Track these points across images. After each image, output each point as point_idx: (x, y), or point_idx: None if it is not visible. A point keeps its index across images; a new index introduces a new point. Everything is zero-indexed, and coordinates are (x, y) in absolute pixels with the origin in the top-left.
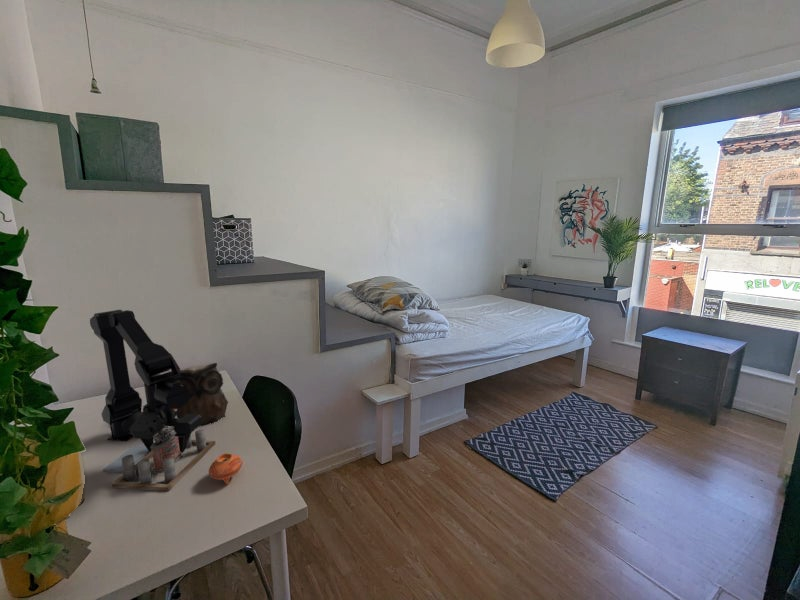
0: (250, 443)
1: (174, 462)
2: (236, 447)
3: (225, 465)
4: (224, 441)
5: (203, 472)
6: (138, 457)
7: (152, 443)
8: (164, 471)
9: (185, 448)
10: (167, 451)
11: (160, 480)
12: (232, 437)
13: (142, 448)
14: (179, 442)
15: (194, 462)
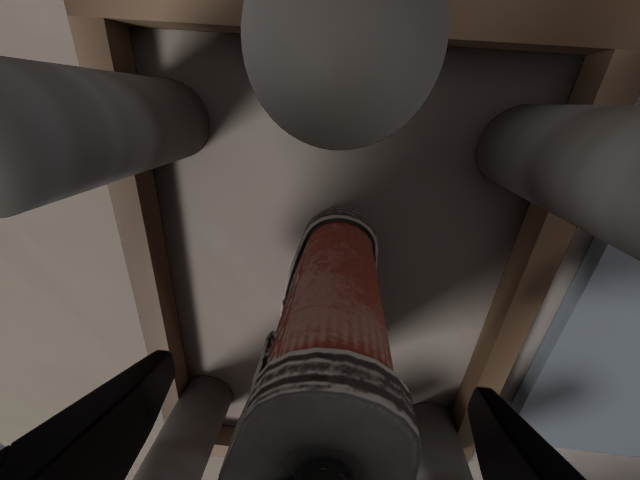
0: (16, 422)
1: (282, 303)
2: (54, 402)
3: None
4: (152, 442)
5: (35, 214)
6: (564, 355)
7: (487, 471)
8: (100, 74)
9: None
10: (260, 360)
11: (259, 125)
12: (138, 462)
13: (576, 428)
14: (26, 468)
15: (139, 294)
